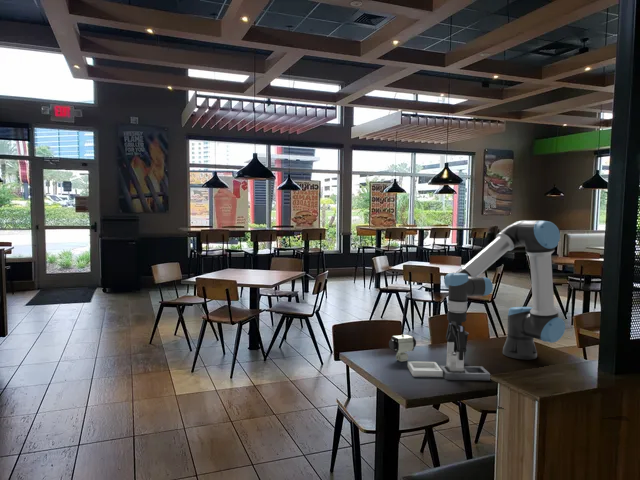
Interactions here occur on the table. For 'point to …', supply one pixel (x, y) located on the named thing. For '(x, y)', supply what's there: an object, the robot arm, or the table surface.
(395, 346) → the pneumatic valve
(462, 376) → the gray divided tray
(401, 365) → the table surface
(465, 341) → the drinking cup
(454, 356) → the white block
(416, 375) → the tray
